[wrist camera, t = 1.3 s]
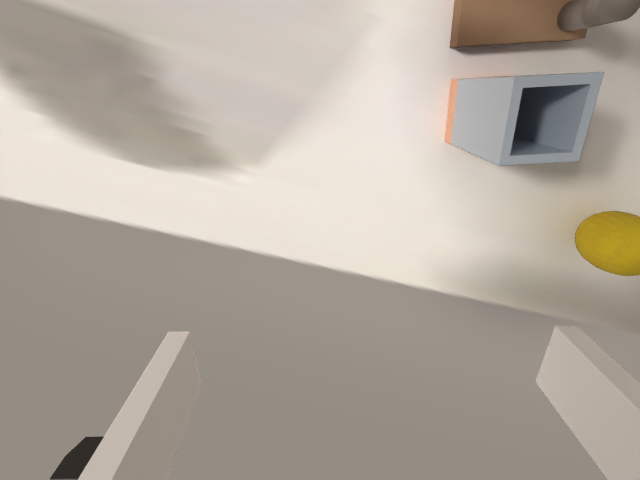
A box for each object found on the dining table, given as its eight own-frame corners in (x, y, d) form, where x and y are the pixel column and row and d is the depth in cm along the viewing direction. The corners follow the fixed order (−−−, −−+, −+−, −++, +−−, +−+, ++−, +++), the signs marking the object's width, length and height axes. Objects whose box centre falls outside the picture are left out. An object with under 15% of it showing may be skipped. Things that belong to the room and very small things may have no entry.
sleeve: (451, 79, 28) (514, 77, 19) (512, 75, 28) (603, 72, 19) (444, 141, 31) (499, 165, 22) (501, 138, 31) (578, 161, 22)
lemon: (589, 255, 36) (658, 298, 29) (546, 240, 35) (606, 281, 28) (624, 209, 34) (708, 244, 27) (579, 193, 33) (653, 224, 26)
